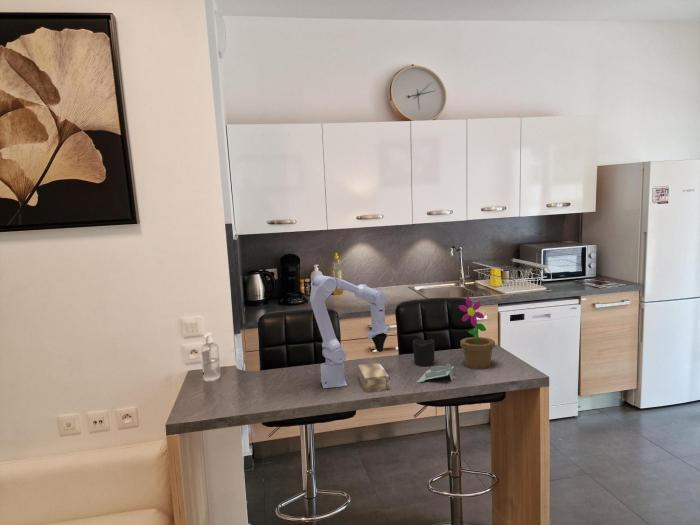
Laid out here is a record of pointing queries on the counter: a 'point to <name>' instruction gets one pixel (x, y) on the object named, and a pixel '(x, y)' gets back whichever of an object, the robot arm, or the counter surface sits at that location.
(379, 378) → the beige rectangular block
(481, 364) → the flowerpot
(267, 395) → the counter surface
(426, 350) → the pen holder
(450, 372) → the metal bracket
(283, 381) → the counter surface
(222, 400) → the counter surface
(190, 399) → the counter surface
